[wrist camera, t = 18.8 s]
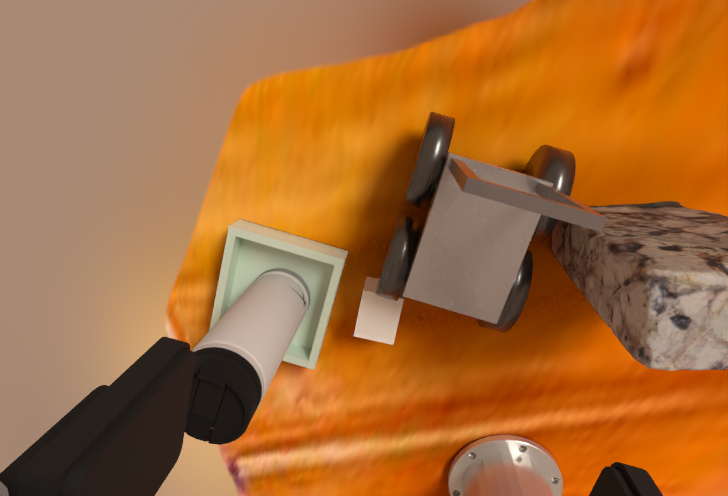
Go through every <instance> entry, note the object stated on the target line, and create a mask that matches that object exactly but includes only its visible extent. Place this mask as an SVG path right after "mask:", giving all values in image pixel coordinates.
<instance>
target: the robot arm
mask: <svg viewBox="0 0 728 496" xmlns="http://www.w3.org/2000/svg"><path fill="white" fill-rule="evenodd" d="M195 361H196V353H195V352H193V351H190V345H189V344H188V343H186V342H182V341H179V340H175V339H172V338H168V337H162V338H161V339H159V340H158V341H157V342H156V343H155V344H154V345H153V346H152V347H151V348H150V349H149V350H148V351H147V352H146V353H144V354H143V355H142V356H141V357H140V358H139V359H138V360H137V361H136V362H135V363H134V364H133V365H131V366H130V367H129V368H128V369H127V370H126V371H125V372H124V373H123V374H122V375H121V376H120V377H119V378H117V379H116V380H115V381H114V383H112V384H111V385H110V386H106V385H102V386H99V387H98V388H96V389H95V390H93V391H92V392H91V393H90V394H89V395H88V396H87V397H85V398H84V399H83V400H82V401H81V402H80V403H79V404H78V405H76V406H75V407H74V408H73V409H72V410H71V411H70V412H69V413H68V414H66V415H65V416H64V417H63V418H62V419H61V420H60V421H59V422H57V423H56V424H55V425H54V426H53V427H52V428H51V429H50V430H48V431H47V432H46V433H45V434H44V435H43V436H42V437H41V438H40V439H39V440H37V441H36V442H35V443H34V444H33V445H32V446H31V447H29V448H28V449H27V450H26V451H25V452H24V453H23V454H22V455H21V456H19V457H18V458H17V459H16V460H15V461H14V462H13V463H12V464H10V465H9V466H8V467H7V468H6V469H5V470H4V471H3V472H2V473H0V496H154V495H155V494H156V492H157V491H158V489H159V488H160V486H161V485H162V483H163V482H164V480H165V479H166V477H167V476H168V474H169V473H170V471H171V470H172V468H173V467H174V465H175V463H176V462H177V460H178V457H179V455H180V452H181V448H182V444H183V437H184V431H185V425H186V418H187V412H188V406H189V399H190V393H191V386H192V380H193V374H194V367H195ZM448 487H449V493H450V496H562V490H563V481H562V476H561V473H560V470H559V467H558V465H557V463H556V461H555V459H554V458H553V457H552V456H551V454H550V453H549V452H548V451H547V450H546V449H544V448H543V447H542V446H541V445H539V444H537V443H535V442H533V441H532V440H529V439H526V438H523V437H519V436H513V435H495V436H488V437H485V438H482V439H479V440H477V441H475V442H473V443H471V444H469V445H468V446H466V447H465V448H464V449H462V450H461V451H460V452H459V453H458V455H457V456H456V457H455V458H454V460H453V462H452V464H451V466H450V469H449V473H448ZM589 496H663V495H662V493H661V492H660V490H659V489H658V487H657V486H656V484H655V483H654V481H653V479H652V478H651V476H650V475H649V474H648V472H647V471H646V470H644V469H641V468H637V467H634V466H630V465H627V464H623V463H619V462H615V463H613V464H612V465H611V466H610V467H605V468H604V469H603V470H602V472H601V474H600V475H599V477H598V479H597V481H596V483H595V485H594V487H593V489H592V491H591V493H590V495H589Z"/></svg>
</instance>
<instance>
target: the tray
mask: <svg viewBox="0 0 728 496" xmlns="http://www.w3.org/2000/svg"><path fill="white" fill-rule="evenodd" d="M348 252H349V251H347V250H344V249H340V248H337V247H334V246H330V245H327V244H323V243H320V242H317V241H313V240H310V239H306V238H303V237H300V236H296V235H293V234H290V233H286V232H283V231H279V230H276V229H273V228H269V227H266V226H262V225H259V224H256V223H252V222H249V221H245V220H242V219H239V220H238V221H236V222H234V223H233V224H231V225H230V226H229V228H228V234H227V239H226V244H225V249H224V255H223V260H222V265H221V271H220V276H219V281H218V286H217V292H216V297H215V302H214V307H213V313H212V318H211V323H210V328H209V331H210V330H211V329H212V327H213V326H214V325H215V324H216V323H217V322H218V321H219V320H220V319H221V317H222V316H223V315H224V314H225V313H226V312H227V311H228V310H229V309H230V307H231V306H232V305H233V304H234V303H235V302H236V301H237V300H238V299H239V297H240V296H241V295H242V294H243V293H244V292H245V291H246V290H247V289H248V287H249V286H250V285H251V284H252V283H253V282H254V281H255V280H256V279H257V277H258V276H260V275H261V274H262V273H263V272H265V271H267V270H270V269H275V268H282V269H287V270H290V271H292V272H294V273H296V274H297V275H299V276H300V277H301V278H302V279H303V280H304V281H305V283H306V284H307V286H308V289H309V291H310V305H309V308H308V310H307V312H306V314H305V316H304V318H303V320H302V322H301V324H300V326H299V328H298V330H297V332H296V334H295V336H294V338H293V340H292V342H291V344H290V346H289V348H288V350H287V352H286V353H285V355H284V357H283V359H282V361H286V362H289V363H292V364H296V365H299V366H302V367H306V368H309V369H312V370H314V369H315V366H316V364H317V361H318V358H319V356H320V352H321V348H322V345H323V341H324V338H325V334H326V330H327V327H328V323H329V320H330V316H331V313H332V309H333V305H334V302H335V298H336V295H337V291H338V287H339V284H340V280H341V277H342V273H343V270H344V266H345V262H346V259H347V255H348Z"/></svg>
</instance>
